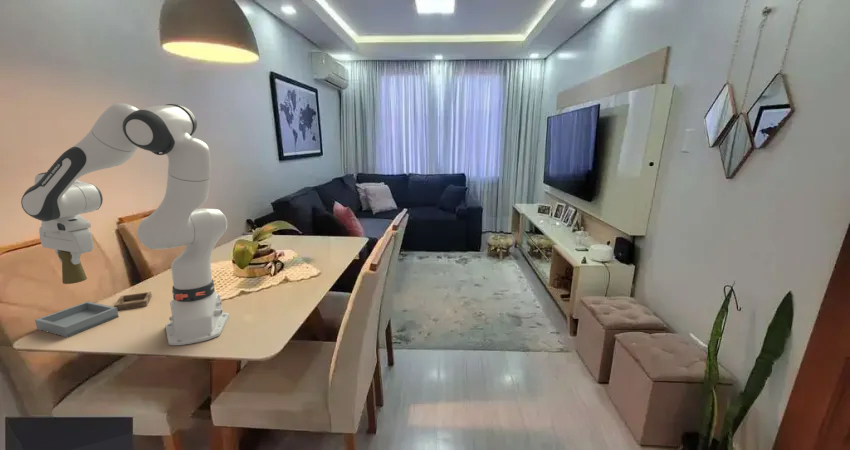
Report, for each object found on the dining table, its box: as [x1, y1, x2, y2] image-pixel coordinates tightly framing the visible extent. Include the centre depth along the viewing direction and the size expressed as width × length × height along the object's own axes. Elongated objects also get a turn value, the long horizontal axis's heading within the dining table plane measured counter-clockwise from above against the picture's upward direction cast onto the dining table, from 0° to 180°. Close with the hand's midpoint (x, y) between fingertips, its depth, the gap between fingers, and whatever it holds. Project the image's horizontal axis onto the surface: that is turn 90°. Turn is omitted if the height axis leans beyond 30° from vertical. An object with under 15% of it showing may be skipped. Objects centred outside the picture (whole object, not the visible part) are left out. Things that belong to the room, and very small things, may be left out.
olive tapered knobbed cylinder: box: [57, 250, 88, 285], centre depth 123 cm, size 6×6×11 cm
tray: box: [34, 300, 120, 338], centre depth 126 cm, size 15×15×4 cm
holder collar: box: [113, 291, 153, 311], centre depth 141 cm, size 10×10×2 cm
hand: (70, 262), depth 122 cm, fingers closed on olive tapered knobbed cylinder, 4 cm apart
